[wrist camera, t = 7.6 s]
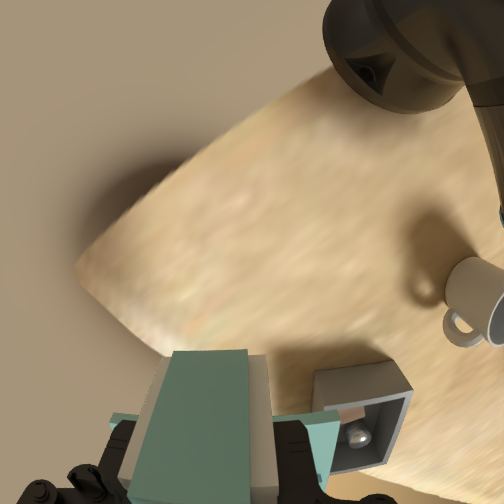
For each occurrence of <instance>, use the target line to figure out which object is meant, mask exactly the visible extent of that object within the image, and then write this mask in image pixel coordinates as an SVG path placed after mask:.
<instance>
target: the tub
mask: <svg viewBox="0 0 504 504" xmlns="http://www.w3.org/2000/svg"><path fill="white" fill-rule="evenodd" d="M413 391H414V390H413V388H412V387H411V385H410V384H409V382H408V381H407V379H406V378H405V376H404V375H403V373H402V371H401V370H400V369H399V367H398V366H397V364H396V363H395V361H394V360H390V361H385V362H379V363H373V364H367V365H360V366H353V367H346V368H338V369H330V370H322V371H314V377H313V390H312V403H311V413H313V412H321V411H329V410H336V409H337V410H341V409H347V408H353V407H359V406H364V411H365V417H362V418H361V419H363V420H364V421H365V423H366V426H367V428H368V430H369V432H370V434H371V437H372V438H371V441H370V442H369V443H368V444H367V445H365V446H363V447H361V448H356V449H354V448H351V447H350V446H349V443H348V440H347V438H346V435H345V432H344V426H345V424H346V423H345V424H342V425H341V423H340V427H339V432H338V437H337V442H336V447H335V451H334V456H333V460H332V465H331V469H330V473H329V476H330V475H336V474H341V473H347V472H352V471H357V470H362V469H367V468H371V467H375V466H380V465H384V464H387V461H388V459H389V457H390V454H391V452H392V449H393V447H394V444H395V442H396V439H397V437H398V434H399V432H400V429H401V426H402V423H403V421H404V418H405V415H406V412H407V409H408V406H409V403H410V400H411V397H412V394H413Z"/></svg>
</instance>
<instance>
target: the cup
mask: <svg viewBox="0 0 504 504" xmlns="http://www.w3.org/2000/svg"><path fill="white" fill-rule="evenodd" d="M445 297H446V302H447V305H448V307H449V310H448V311H447V312H446V314H445V316H444V319H443V331H444V334H445V336H446V337H447V339H448V340H449V341H450V342H451V343H453V344H455V345H456V346H459V347H463V348H470V347H474V346H476V345H478V344H479V343H481V342H482V341H483V340H484V339H485V340H486V341H488V342H489V343H490V344H491V345H492V346H494V347H501V346H503V345H504V270H502V269H501V268H499V267H497V266H495V265H493V264H491V263H489V262H487V261H485V260H483V259H481V258H478V257H468V258H466V259H464V260H462V261H461V262H459V263H458V264H457V265H456V266H455V267H454V269H453V270H452V272H451V273H450V275H449V277H448V280H447V283H446V289H445ZM459 317H460V318H461V319H462V320H463V321H465V322H466V323H467V324H468V325H469V326H470V327H471V328H473V329H474V330H473V331H472V332H470V333H463V332H461V331H460V330H459V329H458V328H457V327H456V325H455V322H456V320H457V319H458V318H459Z"/></svg>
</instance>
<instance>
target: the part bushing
mask: <svg viewBox="0 0 504 504" xmlns="http://www.w3.org/2000/svg"><path fill="white" fill-rule="evenodd" d="M344 432H345V435H346V438H347V440H348V443H349V446H350V447H351V448H354V449H356V448H361V447H363V446H365V445H367V444H368V443H369V442H370V441H371V438H372V437H371V434H370V432H369V430H368V428H367V426H366V423H365V421H364V420H363V419H361V418H359V419H357V420H354V421H351V422H348V423H346V424H345V426H344Z"/></svg>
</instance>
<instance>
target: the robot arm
mask: <svg viewBox="0 0 504 504" xmlns="http://www.w3.org/2000/svg"><path fill="white" fill-rule="evenodd" d="M322 28H323V29H322V30H323V39H324V44H325V47H326V50H327V53H328V55H329V57H330V60H331V61H332V63H333V65H334V67H335V68H336V70H337V71H338V73H339V74H340V75H341V77H342V78H343V79H344V80H345V81H346V82H347V83H348V85H349V86H350V87H352V88H353V89H354V90H355V91H356V92H357V93H358V94H360V95H361V96H362V97H364V98H365V99H366V100H368V101H370V102H371V103H373V104H375V105H377V106H379V107H381V108H383V109H386V110H389V111H392V112H396V113H402V114H417V113H422V112H427V111H431V110H435V109H437V108H439V107H441V106H443V105H445V104H446V103H448V102H449V101H450V100H451V99H452V98H453V97H454V96H455V94H456V93H457V92H458V91H459V90H460V89H461V88H462V87H463V86H464V85H466V88H467V90H468V92H469V95H470V98H471V100H472V103H473V107H474V109H475V112H476V115H477V117H478V120H479V123H480V126H481V129H482V132H483V135H484V138H485V141H486V145H487V148H488V151H489V155H490V158H491V162H492V166H493V170H494V174H495V178H496V183H497V188H498V193H499V198H500V203H501V205H500V210H499V214H500V220H501V223H502V225H503V227H504V0H332V1H331V2H330V4H329V6H328V8H327V10H326V12H325V15H324V18H323V27H322ZM170 360H171V357H162V358H161V360H160V363H159V365H158V368H157V370H156V373H155V375H154V378H153V381H152V383H151V386H150V388H149V391H148V394H147V396H146V399H145V401H144V404H143V407H142V410H141V412H140V415H139V417H138V420H137V421H132V420H123V419H122V420H121V421H120V422H119V423H118V424H117V425H116V426H115V427H114V429H113V432H112V433H111V436H110V440H109V441H108V443H107V445H106V446H107V447H106V448H105V450H104V453H103V455H102V457H101V460H100V462H99V465H98V467H97V466H95V465H91V464H82V465H79V466H76V467H75V468H73V469H72V470H71V471H70V472H69V474H68V476H67V478H68V479H69V481H70V482H71V483H72V485H73V486H74V487H75V488H56V487H55V486H54V485H53V484H52V483H51V482H49V481H47V480H43V479H41V480H35V481H33V482H31V483H30V484H29V485H28V486H27V487H26V489H25V491H24V492H23V494H22V495H21V497H20V499H19V500H18V502H17V504H132V503H131V501H130V500H129V499H128V497H127V493H128V489H129V486H130V482H131V479H132V476H133V472H134V469H135V466H136V463H137V459H138V456H139V453H140V450H141V447H142V444H143V440H144V437H145V434H146V431H147V428H148V425H149V422H150V419H151V416H152V413H153V410H154V407H155V404H156V401H157V398H158V395H159V392H160V389H161V386H162V383H163V380H164V377H165V374H166V371H167V369H168V366H169V363H170ZM248 368H249V424H250V472H251V493H252V500H253V504H397V502H396V501H395V500H394V499H393V498H392V497H390V496H388V495H385V494H372V495H368V496H366V497H364V498H362V499H361V500H360V501H352V500H340V499H335V498H332V497H330V496H328V495H327V494H326V493H324V492H323V490H322V489H321V487H320V485H319V482H318V477H317V472H316V467H315V462H314V458H313V453H312V448H311V443H310V439H309V434H308V429H307V428H306V427H305V426H304V424H303V423H302V422H301V421H300V420H291V421H279V422H273V421H272V411H271V401H270V391H269V381H268V371H267V361H266V355H249V356H248Z"/></svg>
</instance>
